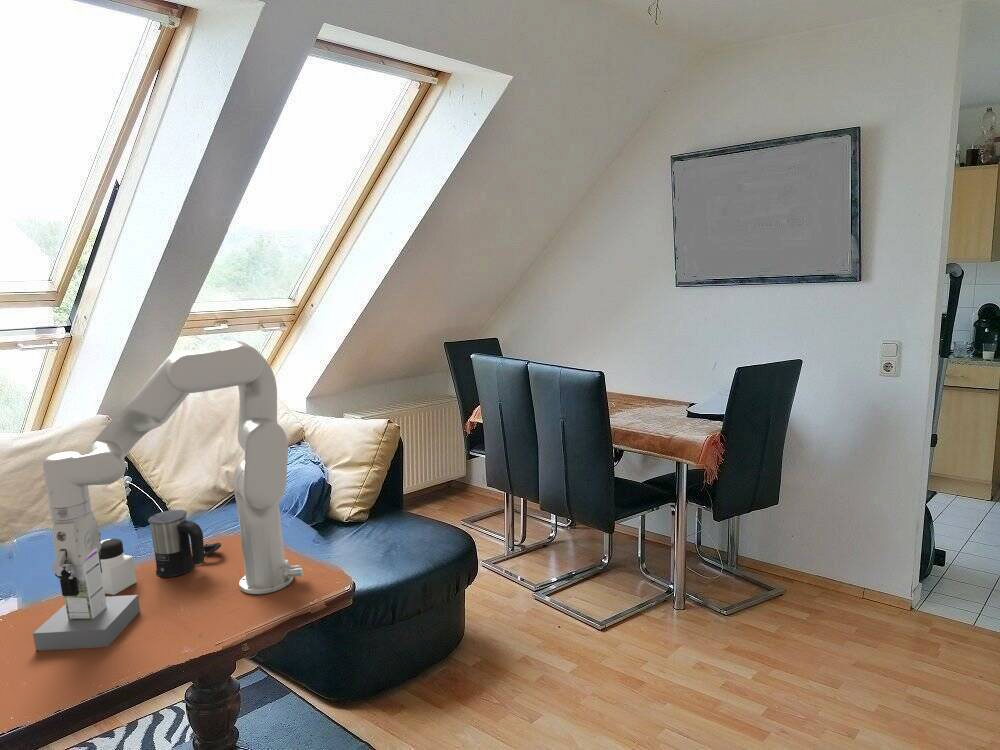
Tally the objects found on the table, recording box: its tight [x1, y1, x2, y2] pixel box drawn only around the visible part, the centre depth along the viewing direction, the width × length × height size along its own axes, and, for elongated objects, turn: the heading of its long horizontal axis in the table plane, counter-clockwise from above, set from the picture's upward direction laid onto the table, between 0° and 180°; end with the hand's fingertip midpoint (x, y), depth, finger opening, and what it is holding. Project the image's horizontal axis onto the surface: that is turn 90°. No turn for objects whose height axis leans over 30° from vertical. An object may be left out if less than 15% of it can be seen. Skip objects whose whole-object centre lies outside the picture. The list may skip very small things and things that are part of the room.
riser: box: [32, 594, 141, 651], centre depth 162 cm, size 15×15×4 cm
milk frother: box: [147, 509, 222, 578], centre depth 192 cm, size 14×16×15 cm
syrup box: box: [63, 548, 107, 620], centre depth 160 cm, size 6×6×14 cm
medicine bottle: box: [99, 538, 138, 596], centre depth 181 cm, size 7×7×12 cm
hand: (83, 584), depth 160 cm, fingers open, 9 cm apart
